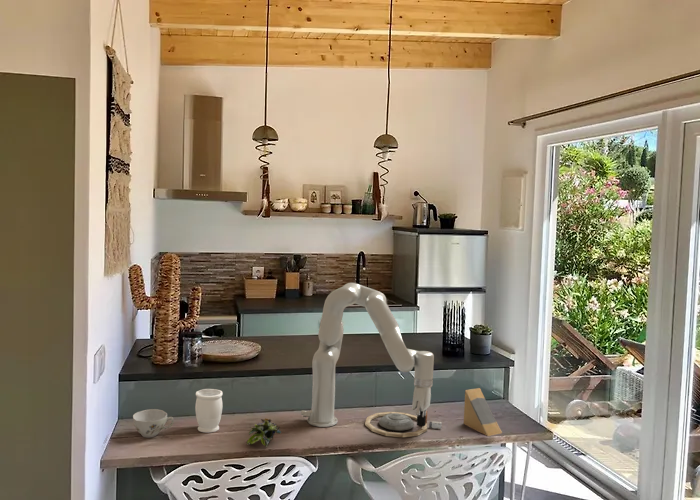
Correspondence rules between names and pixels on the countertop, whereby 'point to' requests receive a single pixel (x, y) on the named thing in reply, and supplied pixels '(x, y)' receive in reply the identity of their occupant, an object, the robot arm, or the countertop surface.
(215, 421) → the jar
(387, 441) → the countertop surface
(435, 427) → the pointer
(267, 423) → the green leafy cluster
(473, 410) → the sandwich container
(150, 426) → the teacup
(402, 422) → the flying saucer
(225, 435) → the countertop surface
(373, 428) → the turntable ring
